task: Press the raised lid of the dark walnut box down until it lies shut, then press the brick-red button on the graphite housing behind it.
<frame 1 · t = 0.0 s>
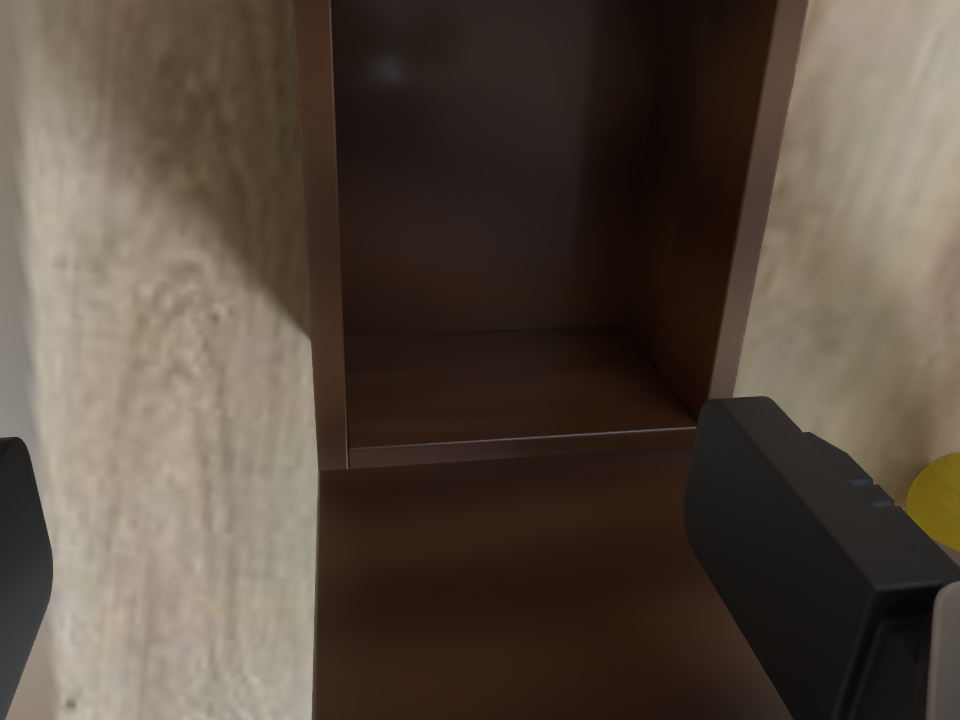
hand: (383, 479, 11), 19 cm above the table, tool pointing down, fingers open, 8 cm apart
box: (488, 151, 28), on the table
lemon: (924, 468, 38), on the table
lid: (619, 562, 17), point 15 cm above the table, hinge at 70.0°
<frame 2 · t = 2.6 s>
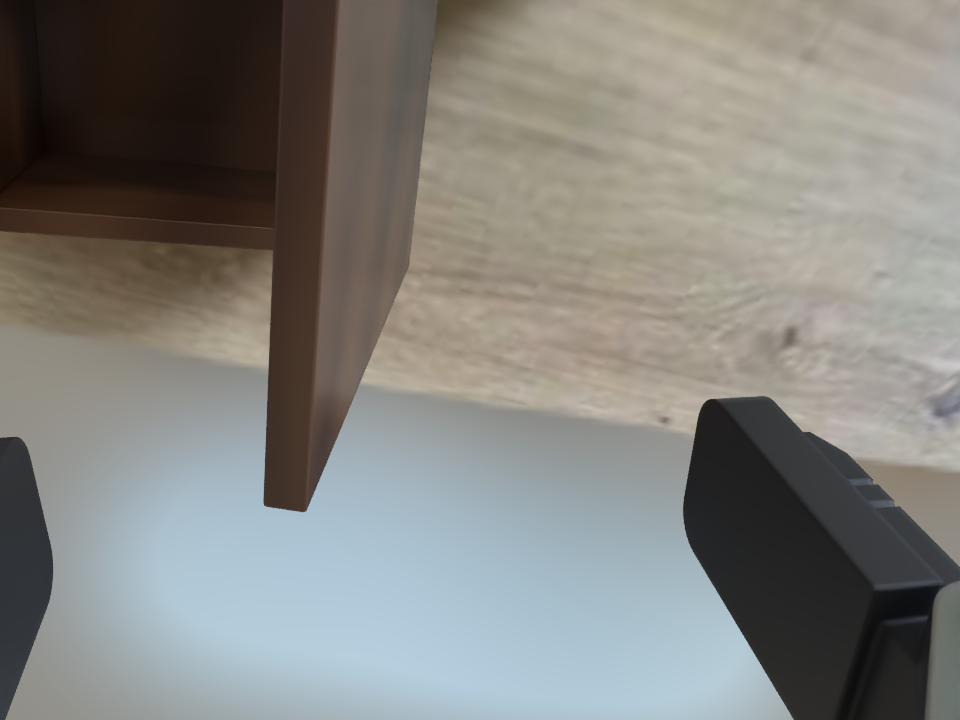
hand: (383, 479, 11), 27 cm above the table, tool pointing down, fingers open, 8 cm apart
box: (212, 30, 33), on the table
lid: (374, 136, 21), point 15 cm above the table, hinge at 76.0°
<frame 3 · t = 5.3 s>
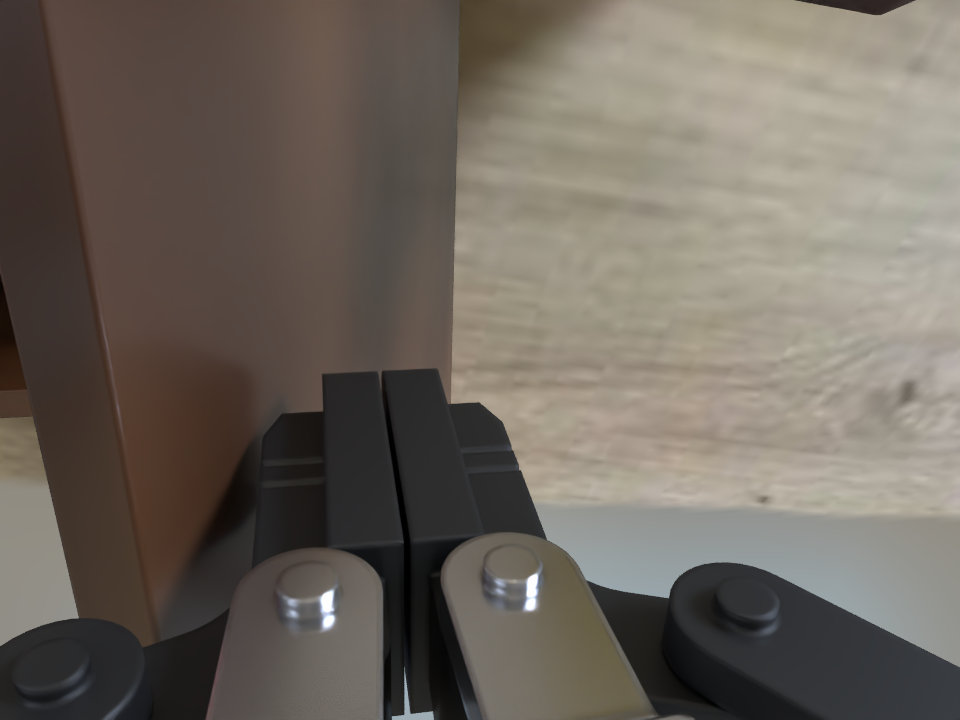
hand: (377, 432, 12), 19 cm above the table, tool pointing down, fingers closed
box: (188, 123, 27), on the table
lid: (345, 313, 15), point 15 cm above the table, hinge at 69.9°
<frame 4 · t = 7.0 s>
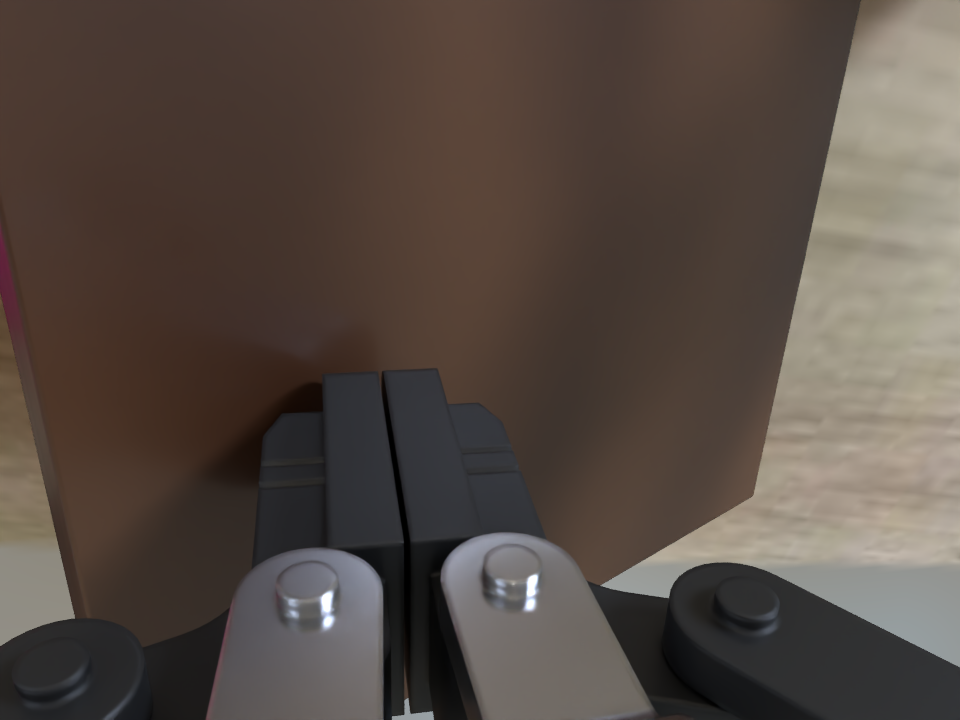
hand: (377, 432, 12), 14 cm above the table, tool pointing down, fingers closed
lid: (528, 345, 14), point 12 cm above the table, hinge at 28.9°, touching gripper
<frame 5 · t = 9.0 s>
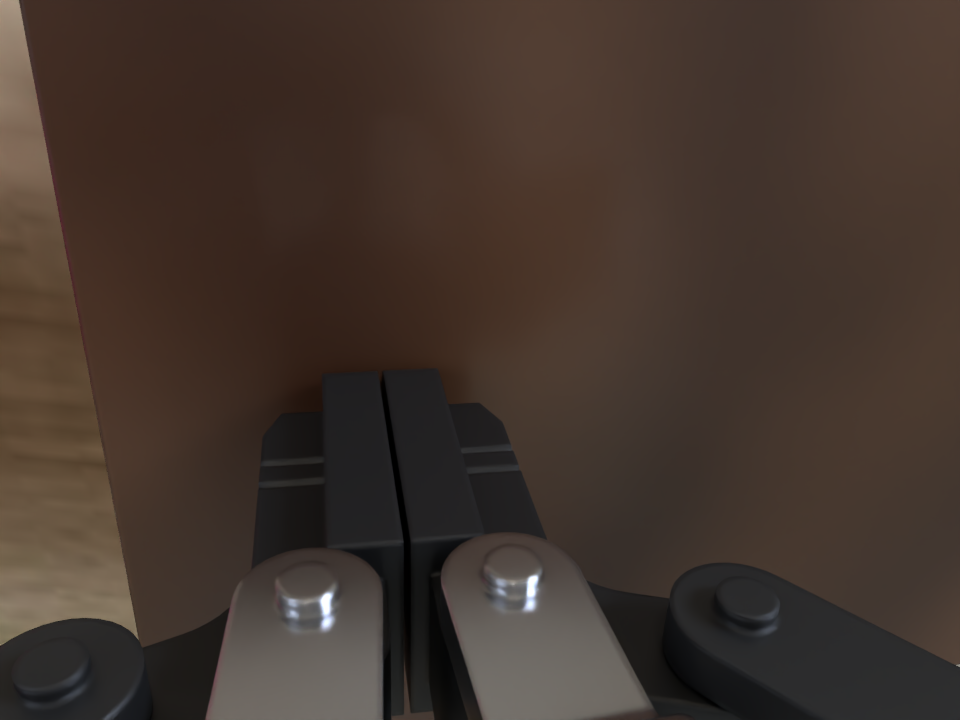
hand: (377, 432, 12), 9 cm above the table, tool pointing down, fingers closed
lid: (635, 401, 13), point 8 cm above the table, hinge at 0.2°, touching gripper
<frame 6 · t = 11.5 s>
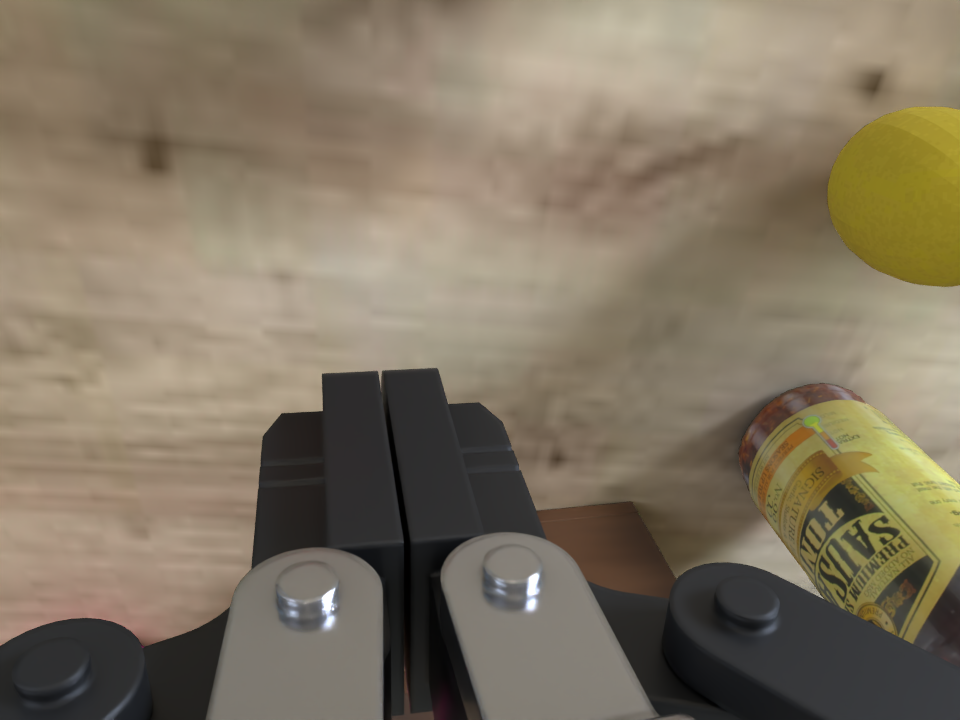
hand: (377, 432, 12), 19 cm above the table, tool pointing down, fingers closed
box: (473, 622, 39), on the table
sauce bottle: (795, 440, 38), on the table
lemon: (854, 163, 32), on the table
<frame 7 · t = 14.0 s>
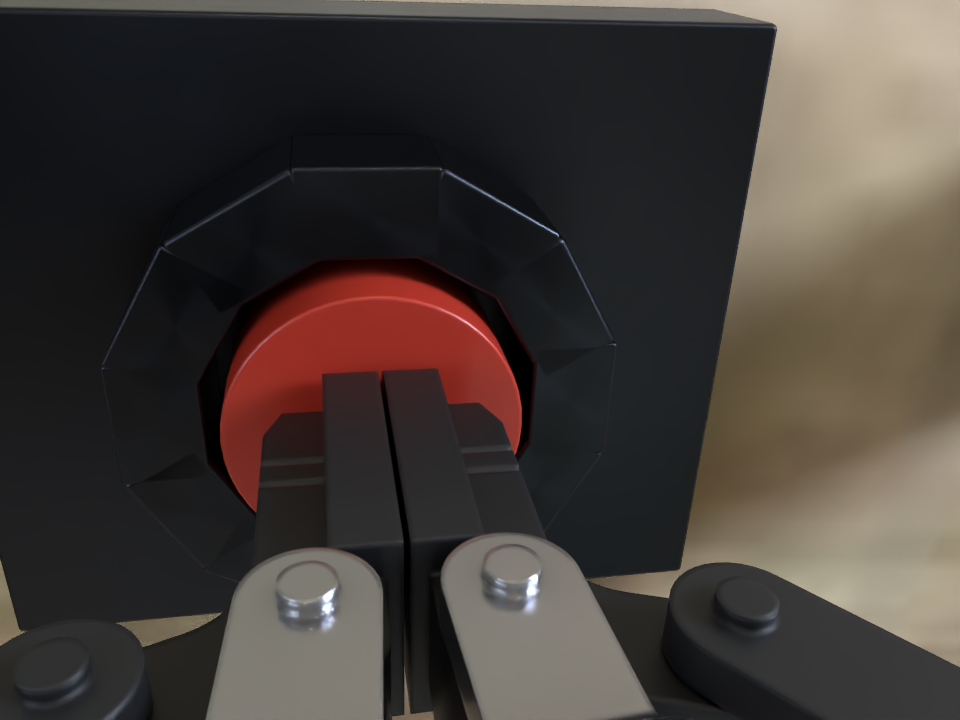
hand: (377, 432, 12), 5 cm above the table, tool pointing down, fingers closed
button housing: (357, 301, 16), on the table
button: (371, 403, 12), point 4 cm above the table, slide at -0.7 cm, touching gripper
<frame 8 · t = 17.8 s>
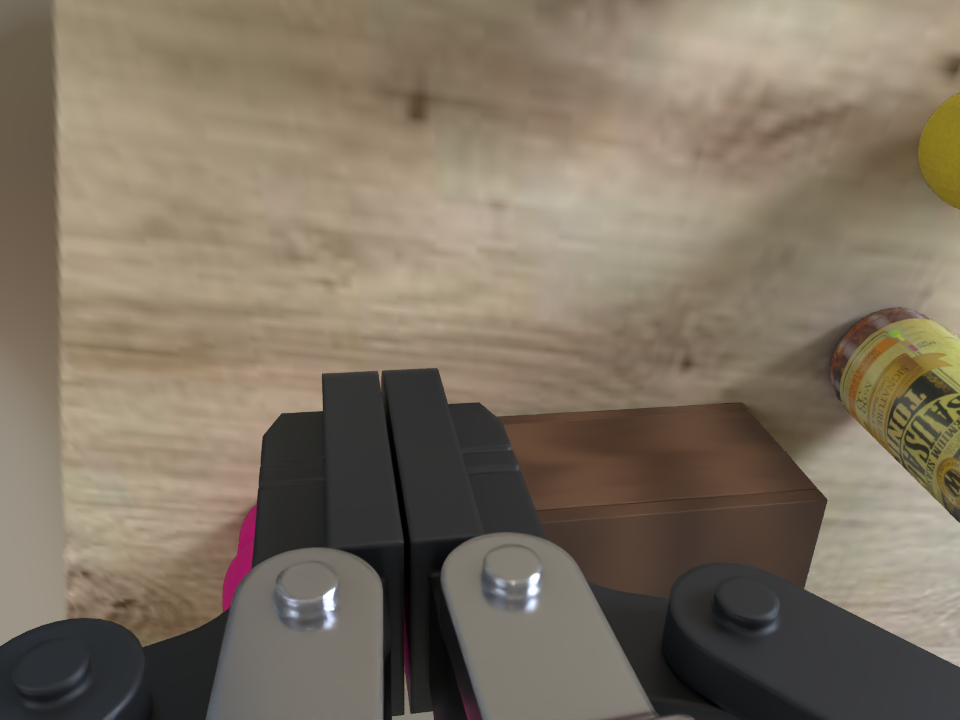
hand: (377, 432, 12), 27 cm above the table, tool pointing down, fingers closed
pepper mill: (302, 533, 45), on the table
box: (607, 501, 48), on the table
sauce bottle: (873, 357, 46), on the table
lemon: (935, 129, 41), on the table
lid: (653, 608, 40), point 8 cm above the table, hinge at 0.1°
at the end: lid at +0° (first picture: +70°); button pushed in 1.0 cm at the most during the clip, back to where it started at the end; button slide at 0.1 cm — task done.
